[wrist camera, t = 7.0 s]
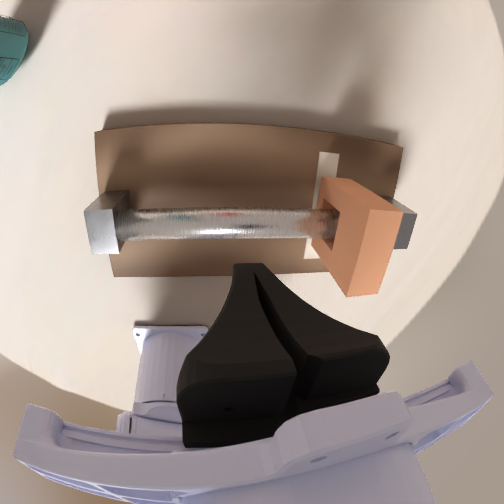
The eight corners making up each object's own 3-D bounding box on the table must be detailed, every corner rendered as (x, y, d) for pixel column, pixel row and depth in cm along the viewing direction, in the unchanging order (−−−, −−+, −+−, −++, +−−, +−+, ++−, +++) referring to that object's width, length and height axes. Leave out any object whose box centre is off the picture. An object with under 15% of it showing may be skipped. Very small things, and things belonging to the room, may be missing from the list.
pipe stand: (382, 227, 23) (406, 248, 19) (109, 228, 19) (92, 254, 15) (389, 196, 21) (417, 214, 18) (104, 191, 17) (83, 210, 14)
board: (366, 261, 26) (374, 269, 25) (118, 267, 22) (113, 277, 21) (393, 144, 20) (403, 148, 19) (101, 130, 16) (93, 132, 15)
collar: (337, 244, 22) (377, 293, 16) (310, 244, 21) (346, 297, 16) (350, 178, 19) (403, 211, 13) (321, 176, 19) (369, 209, 13)
